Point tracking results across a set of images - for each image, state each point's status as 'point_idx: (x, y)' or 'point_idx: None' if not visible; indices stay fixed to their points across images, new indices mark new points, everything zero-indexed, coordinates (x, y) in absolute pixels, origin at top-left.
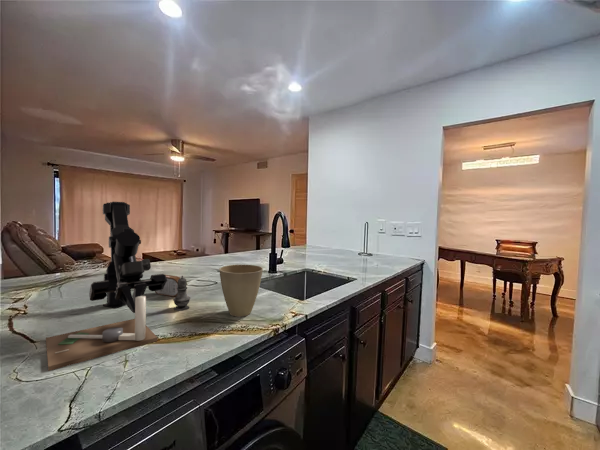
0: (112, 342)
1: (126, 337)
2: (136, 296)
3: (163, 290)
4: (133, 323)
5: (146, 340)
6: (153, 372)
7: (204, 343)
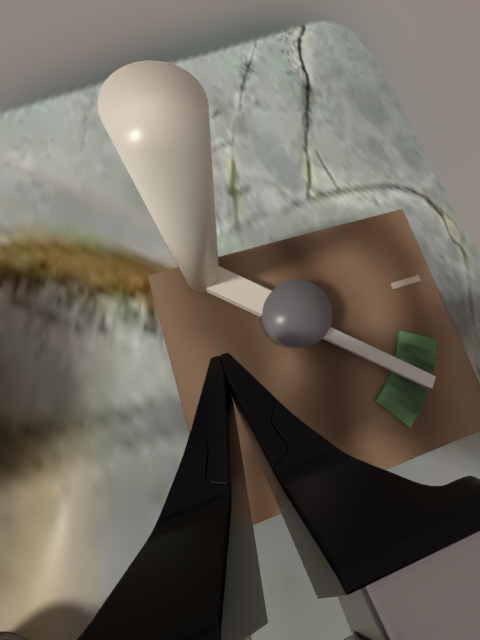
0: None
1: (245, 279)
2: (217, 446)
3: None
4: None
5: None
6: None
7: (10, 199)
